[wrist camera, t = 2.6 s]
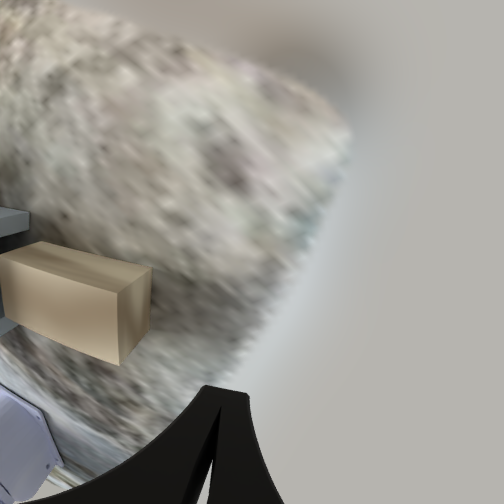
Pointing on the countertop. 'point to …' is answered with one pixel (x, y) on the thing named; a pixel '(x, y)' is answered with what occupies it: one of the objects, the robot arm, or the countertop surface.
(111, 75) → the countertop surface
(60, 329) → the birch bar
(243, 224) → the countertop surface
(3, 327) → the slate block
